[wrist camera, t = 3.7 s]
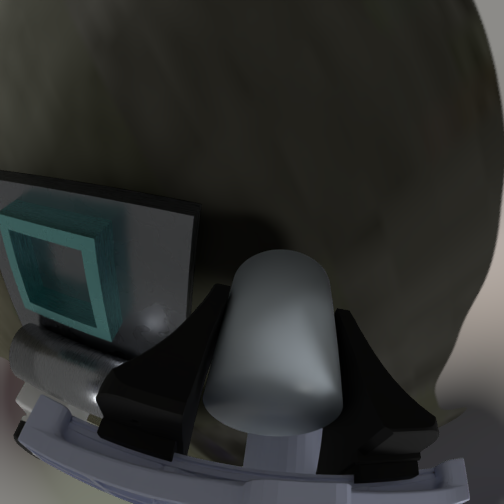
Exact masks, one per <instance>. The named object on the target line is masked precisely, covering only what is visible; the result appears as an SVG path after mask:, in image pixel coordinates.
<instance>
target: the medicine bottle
mask: <svg viewBox="0 0 504 504" xmlns="http://www.w3.org/2000/svg"><path fill="white" fill-rule="evenodd" d="M42 394H43V395H45V396H47V397H49V398H51V399H53V400H55V401H57V402H59V403H61V404H63V405H64V406H66V407H67V408H68V409H69V410H70V412H71V414H72V416H75V417H77V418H79V419H81V420H83V421H86V420H87V418H88V416H89V413H88V412H85V411H83V410H81V409H79V408H76V407H74V406H72V405H70V404H68V403H65V402H63V401H61V400H59V399H57V398H55V397H53V396H51V395H49V394H47V393H45V392H43V391H41V390H40V389H38V388H36V387H34V386H32V385H30V384H29V383H27V382H25V384H24V386H23V387H22V389H21V391H20V393H19V394H18V396H17V398H16V402H17V403H18V404H19V406H20V407H21V408H22V409H23V410H24V411H25V413H26V414H27V415H26V416H23V417H22V419H21V421H20V423H19V425H18V427H17V429H16V431H15V433H14V439H15V441H16V442H17V444H18V445H19V446H21V447H22V448H23V449H24V450H25V451H27V452H28V453H30V454H31V455H33V456H35V457H36V458H38V457H37V456H36V455H34V454H33V453H32V452H31V451H29V450H28V449H27V448H26V447H25V446H24V445H22V444H21V443H20V442H19V441H18V438H19V435H20V433H21V431H22V429H23V427H24V425H25V423H26V421H27V419H28V417H29V415H30V413H31V412H32V410H33V408H34V406H35V404H36V402H37V400H38V398H39V397H40V395H42ZM38 459H39V458H38ZM40 460H41V459H40Z"/></svg>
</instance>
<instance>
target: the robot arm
mask: <svg viewBox="0 0 504 504" xmlns="http://www.w3.org/2000/svg"><path fill="white" fill-rule="evenodd" d="M229 292H230V286H226V285H222V284H215V285H214V286H213V288H212V289H211V291H210V292H209V294H208V295H207V296H206V298H205V299H204V300H203V302H202V303H201V304H200V305H199V306H198V307H197V309H196V310H195V311H194V312H193V313H192V314H191V315H190V316H189V317H188V318H187V319H186V320H185V321H184V322H183V323H182V324H181V325H180V326H179V327H178V328H177V329H176V330H174V331H173V332H172V333H171V334H170V335H168V336H167V337H166V338H165V339H163V340H162V341H160V342H159V343H158V344H156V345H155V346H153V347H152V348H150V349H149V350H147V351H145V352H144V353H142V354H140V355H139V356H137V357H135V358H133V359H132V360H130V361H127V362H125V363H123V364H121V365H119V366H117V367H115V368H113V369H112V370H111V371H110V372H109V374H108V375H107V377H106V378H105V380H104V381H103V383H102V384H101V387H100V389H99V391H98V393H97V396H96V402H97V404H98V406H99V408H100V410H101V412H102V414H103V418H102V421H101V423H100V426H99V427H98V426H95V425H93V424H90V423H88V422H86V421H83V420H81V419H79V418H77V417H75V416H72V414H71V412H70V410H69V409H68V408H67V407H66V406H64V405H63V404H61V403H59V402H57V401H55V400H53V399H51V398H49V397H47V396H45V395H43V394H42V395H40V397H39V398H38V400H37V402H36V404H35V406H34V408H33V410H32V412H31V413H30V415H29V417H28V419H27V421H26V423H25V425H24V427H23V429H22V431H21V433H20V435H19V438H18V441H19V442H20V443H21V444H22V445H24V446H25V447H26V448H27V449H28V450H29V451H31V452H32V453H33V454H34V455H36V456H37V457H38V458H39V459H41V460H42V461H44V462H46V463H47V464H49V465H51V466H53V467H55V468H57V469H58V470H61V471H62V472H64V473H66V474H68V475H70V476H72V477H74V478H76V479H78V480H80V481H82V482H84V483H86V484H88V485H90V486H92V487H95V488H97V489H99V490H101V491H103V492H106V493H108V494H110V495H113V496H115V497H118V498H120V499H123V500H126V501H128V502H131V503H133V504H462V503H464V502H466V501H468V500H469V499H470V495H469V488H468V482H467V475H466V470H465V464H464V459H463V458H457V459H452V460H447V461H444V462H442V463H440V464H438V465H437V466H435V467H434V468H428V469H421V470H418V462H417V460H420V458H421V456H420V452H421V451H422V450H424V449H425V448H427V447H428V446H430V445H431V444H432V443H433V442H435V441H436V440H437V438H438V437H439V430H438V425H437V421H436V417H435V416H433V415H432V414H431V413H429V412H428V411H427V410H425V409H424V408H423V407H422V406H420V405H419V404H418V403H417V402H416V401H415V400H414V399H412V398H411V397H410V396H409V395H408V394H407V393H406V392H405V391H404V390H403V389H402V388H401V387H400V385H399V384H398V383H397V382H396V381H395V380H394V379H393V378H392V376H391V375H390V374H389V373H388V371H387V370H386V369H385V368H384V366H383V365H382V363H381V362H380V361H379V359H378V358H377V356H376V355H375V353H374V352H373V350H372V348H371V347H370V345H369V344H368V342H367V340H366V339H365V337H364V335H363V334H362V332H361V330H360V328H359V327H358V325H357V323H356V321H355V319H354V318H353V316H352V314H351V313H350V311H348V310H343V309H338V308H337V310H336V312H335V314H334V317H335V325H336V334H337V343H338V352H339V362H340V373H341V385H342V397H343V409H342V411H341V414H340V415H339V416H338V418H337V419H335V420H334V421H333V422H332V423H330V424H329V425H327V426H325V427H323V428H321V429H319V430H316V431H313V432H310V433H306V434H301V435H294V436H263V435H256V434H251V433H248V436H247V443H246V450H245V457H244V464H243V467H239V466H233V465H228V464H222V463H217V462H212V461H207V460H203V459H198V458H194V457H190V456H187V453H188V449H189V444H190V440H191V435H192V431H193V427H194V422H195V418H196V414H197V410H198V405H199V401H200V397H201V393H202V389H203V385H204V382H205V378H206V375H207V373H208V370H209V367H210V364H211V361H212V359H213V355H214V351H215V347H216V343H217V339H218V336H219V332H220V328H221V324H222V320H223V317H224V313H225V309H226V305H227V301H228V297H229Z"/></svg>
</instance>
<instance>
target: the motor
mask: <svg viewBox="0 0 504 504" xmlns="http://www.w3.org/2000/svg"><path fill="white" fill-rule="evenodd" d="M200 211H201V204H198V203H193V202H188V201H183V200H178V199H173V198H168V197H162V196H157V195H152V194H146V193H141V192H135V191H130V190H124V189H118V188H113V187H107V186H101V185H95V184H89V183H83V182H77V181H70V180H64V179H57V178H51V177H44V176H37V175H30V174H23V173H16V172H8V171H1V170H0V270H1V273H2V276H3V278H4V281H5V284H6V287H7V289H8V292H9V295H10V297H11V300H12V302H13V305H14V307H15V309H16V312H17V314H18V316H19V319H20V321H21V323H22V325H23V326H22V327H21V328H20V329H19V330H18V332H17V333H16V335H15V336H14V338H13V341H12V343H11V347H10V353H9V362H10V367H11V370H12V372H13V373H14V375H15V376H16V377H18V378H20V379H21V380H24V381H25V382H27V383H29V384H30V385H32V386H34V387H36V388H38V389H40V390H41V391H43V392H45V393H47V394H49V395H51V396H53V397H55V398H57V399H59V400H61V401H63V402H65V403H68V404H70V405H72V406H74V407H76V408H79V409H81V410H83V411H85V412H88V413H90V414H92V415H95V416H97V417H100V418H103V414H102V412H101V410H100V408H99V406H98V404H97V402H96V396H97V393H98V391H99V389H100V387H101V384H102V383H103V381H104V380H105V378H106V377H107V375H108V374H109V372H110V371H111V370H112V369H113V368H115V367H117V366H119V365H121V364H123V363H125V362H127V361H130V360H132V359H133V358H135V357H137V356H139V355H140V354H142V353H144V352H145V351H147V350H149V349H150V348H152V347H153V346H155V345H156V344H158V343H159V342H160V341H162V340H163V339H165V338H166V337H167V336H168V335H170V334H171V333H172V332H173V331H174V330H176V329H177V328H178V327H179V326H180V325H181V324H182V323H183V322H184V321H185V320H186V319H187V318H188V317H189V316H190V315H191V307H192V294H193V281H194V270H195V259H196V249H197V239H198V229H199V220H200Z"/></svg>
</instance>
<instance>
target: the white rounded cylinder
mask: <svg viewBox="0 0 504 504" xmlns="http://www.w3.org/2000/svg"><path fill="white" fill-rule="evenodd" d="M203 403H204V406H205V408H206V410H207V411H208V412H209V413H210V414H211V415H212V416H213V417H214V418H215V419H217V420H218V421H220V422H221V423H223V424H225V425H227V426H229V427H232V428H234V429H237V430H240V431H243V432H247V433H251V434H256V435H263V436H294V435H301V434H306V433H310V432H313V431H316V430H319V429H321V428H323V427H325V426H327V425H329V424H330V423H332V422H333V421H334V420H335V419H337V418H338V416H339V415H340V414H341V411H342V409H343V397H342V385H341V373H340V362H339V352H338V343H337V334H336V325H335V317H334V309H333V302H332V294H331V287H330V281H329V278H328V275H327V274H326V272H325V270H324V269H323V267H322V266H321V265H320V264H319V263H318V262H316V261H315V260H314V259H312V258H311V257H309V256H307V255H305V254H302V253H300V252H296V251H291V250H281V249H279V250H269V251H265V252H261V253H259V254H256V255H254V256H252V257H251V258H249V259H247V260H246V261H245V262H244V263H243V264H242V265H241V266H240V267H239V268H238V270H237V271H236V273H235V276H234V279H233V282H232V286H231V290H230V294H229V298H228V301H227V305H226V309H225V313H224V317H223V320H222V324H221V328H220V332H219V336H218V339H217V343H216V347H215V351H214V355H213V359H212V363H211V367H210V370H209V374H208V378H207V382H206V386H205V390H204V394H203Z"/></svg>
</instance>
